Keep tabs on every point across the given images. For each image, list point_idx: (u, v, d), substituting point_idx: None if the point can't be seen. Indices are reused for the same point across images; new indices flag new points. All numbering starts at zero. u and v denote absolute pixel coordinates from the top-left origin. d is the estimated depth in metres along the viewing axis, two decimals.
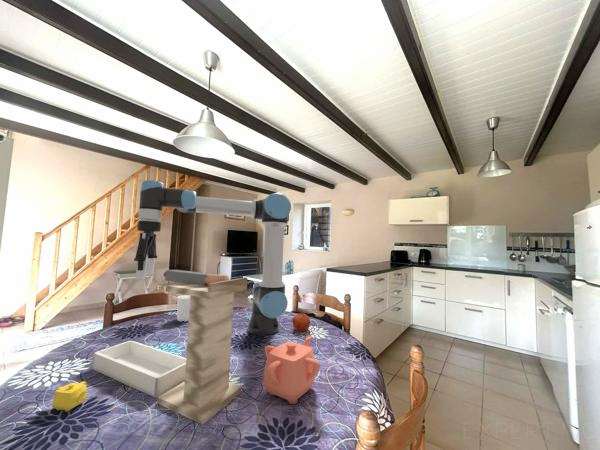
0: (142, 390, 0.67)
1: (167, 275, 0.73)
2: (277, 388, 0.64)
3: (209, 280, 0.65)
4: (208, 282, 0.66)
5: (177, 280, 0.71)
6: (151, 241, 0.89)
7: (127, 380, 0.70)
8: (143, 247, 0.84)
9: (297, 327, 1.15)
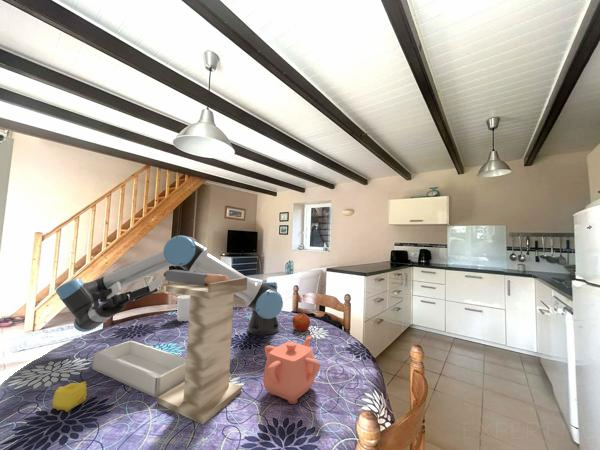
0: (142, 390, 0.67)
1: (167, 275, 0.73)
2: (277, 388, 0.64)
3: (209, 280, 0.65)
4: (208, 282, 0.66)
5: (177, 280, 0.71)
6: None
7: (127, 380, 0.70)
8: None
9: (297, 327, 1.15)
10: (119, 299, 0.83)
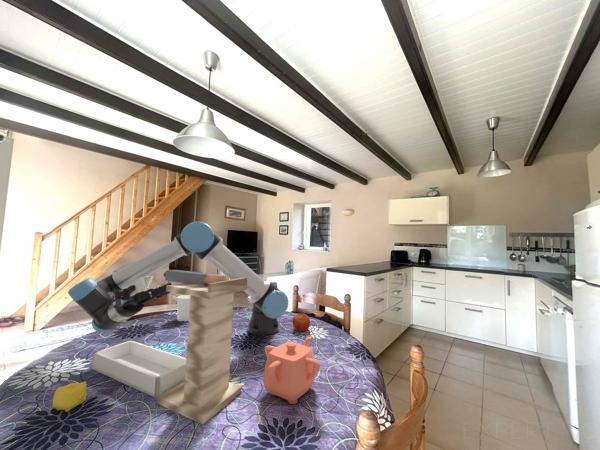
0: (142, 390, 0.67)
1: (167, 275, 0.73)
2: (277, 388, 0.64)
3: (209, 280, 0.65)
4: (208, 282, 0.66)
5: (177, 280, 0.71)
6: None
7: (127, 380, 0.70)
8: None
9: (297, 327, 1.15)
10: (141, 297, 0.77)
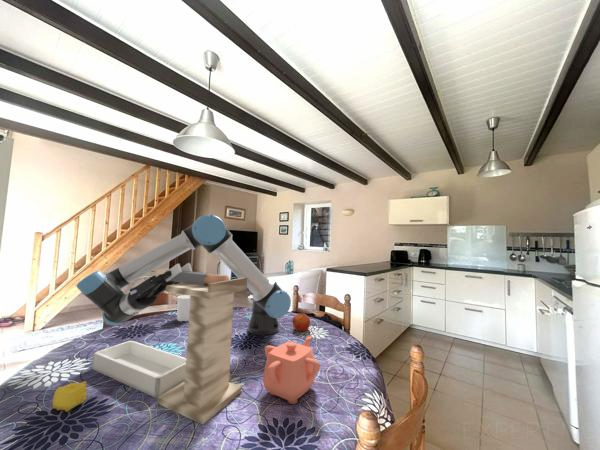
0: (142, 390, 0.67)
1: None
2: (277, 388, 0.64)
3: (209, 280, 0.65)
4: (208, 282, 0.66)
5: (177, 280, 0.71)
6: None
7: (127, 380, 0.70)
8: (144, 283, 0.71)
9: (297, 327, 1.15)
10: None
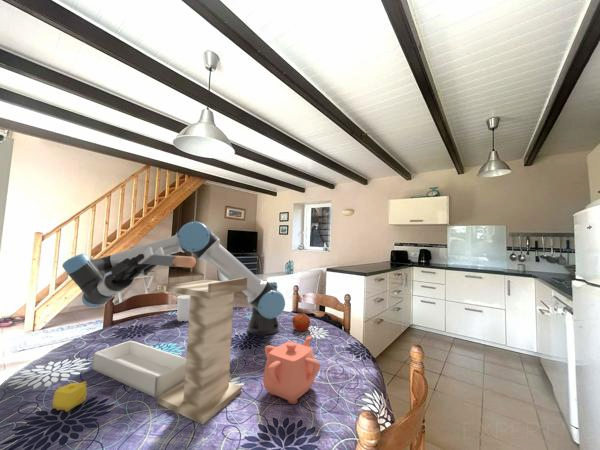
0: (142, 390, 0.67)
1: None
2: (277, 388, 0.64)
3: (177, 261, 0.71)
4: (176, 263, 0.71)
5: (149, 262, 0.76)
6: None
7: (127, 380, 0.70)
8: (118, 265, 0.76)
9: (297, 327, 1.15)
10: (129, 272, 0.81)
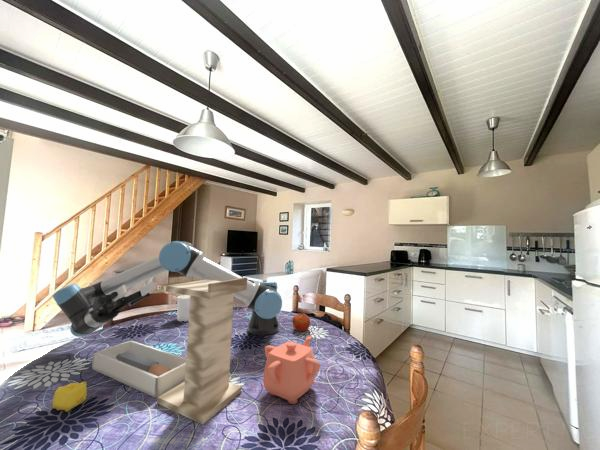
0: (142, 390, 0.67)
1: (118, 360, 0.79)
2: (277, 388, 0.64)
3: (152, 372, 0.72)
4: None
5: None
6: None
7: (127, 380, 0.70)
8: (95, 302, 0.77)
9: (297, 327, 1.15)
10: (115, 305, 0.83)
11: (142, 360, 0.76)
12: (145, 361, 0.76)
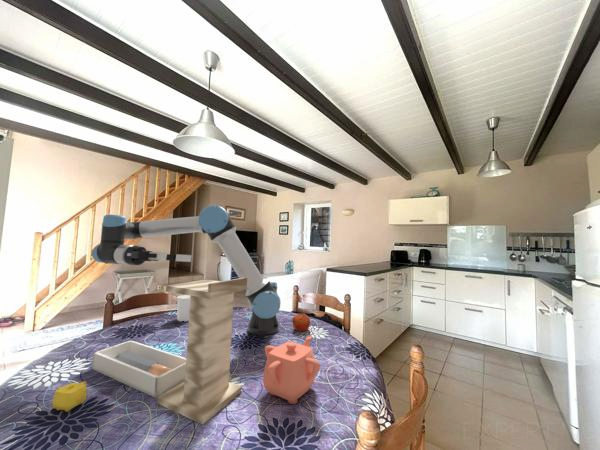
0: (142, 390, 0.67)
1: (118, 360, 0.79)
2: (277, 388, 0.64)
3: (152, 372, 0.72)
4: None
5: None
6: (143, 250, 0.90)
7: (127, 380, 0.70)
8: (134, 252, 0.84)
9: (297, 327, 1.15)
10: None
11: (142, 360, 0.76)
12: (145, 361, 0.76)
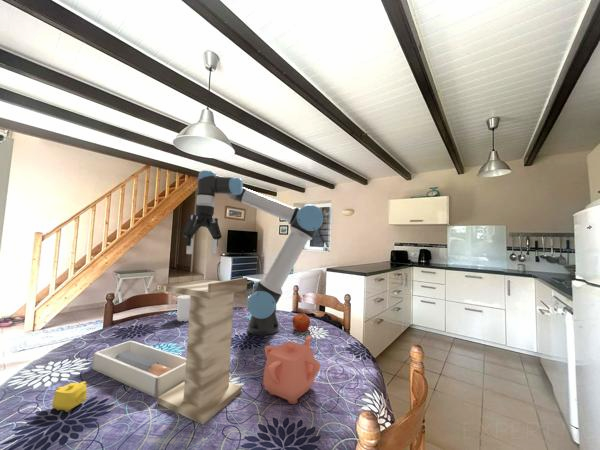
0: (142, 390, 0.67)
1: (118, 360, 0.79)
2: (277, 388, 0.64)
3: (152, 372, 0.72)
4: None
5: None
6: (201, 222, 1.03)
7: (127, 380, 0.70)
8: (188, 226, 0.98)
9: (297, 327, 1.15)
10: None
11: (142, 360, 0.76)
12: (145, 361, 0.76)
